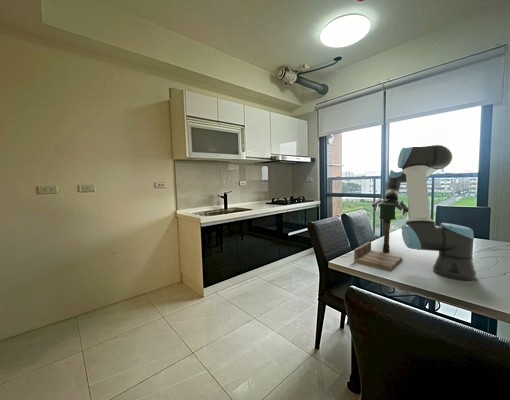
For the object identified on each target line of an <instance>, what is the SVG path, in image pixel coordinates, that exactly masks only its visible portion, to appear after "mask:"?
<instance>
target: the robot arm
mask: <svg viewBox="0 0 510 400" xmlns="http://www.w3.org/2000/svg"><path fill="white" fill-rule="evenodd" d="M452 160H453V154H452V152H451V150H450V149H449V148H448V147H446V146H444V145H441V144H426V145H425V144H424V145H410V146H409V145H407V146H403V147H402V149H401V150H400V153H399V155H398V160H397V167H394V168H392V169H390V172H389V174H388V180H387V181H388V182H387V186H386V192H385V196H384V199H383V198H382V197H379V198H378V199H377V200H376V201H374V202H373V203H372V205H371V206H372V208H374V209H373V210H374V211H375V215H377V213H378V211H379V208H380V205H381V203H393V204H396V206H395V208H396V209H398V210H399V211H400V217H399V219H403V216H404V215H405V213H408V219H407V220H406V221H405V224H403V225H402V227H401V236H402V240H403V242H404V243H403V244H405V246H406V247H407V248H408V249H410V250H417V251H432V252H433V251H434V252H438V256H437V258H436V260H435V262H434V263H433V266H432V267H433V268H432V269H433V272H434V273H436V274H438V275H439V276H443V277H446V278H449V279H453V280H460V281H461V280H462V281H474V280H475V279H477V272H476V270H475V267H474V264H473V261H472V260H473V247H474V240H475V237H474V235H475V234H474V230H473V229H472V228H471V227H467V226H463V225H460V224H454V223H449V222H441V223H440V225H439V226H438V225H436V222H435V221H434V220H433V219H432V218H431V210H430V201H429V190H428V180H429V176H431V175H432V174H435V172H437V171H438V170H443V169H445V168H446V167H448V166H449V164H451V162H452ZM405 183H406V195H407V205H406V204H405V203H404V200H399V193H400V188H401V184H405Z"/></svg>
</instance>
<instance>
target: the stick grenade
mask: <svg viewBox="0 0 510 400" xmlns="http://www.w3.org/2000/svg"><path fill="white" fill-rule="evenodd" d="M395 206H396V204H393V203H381V205H380V207H379V208H380V209H379V210H380V212H379V219H382V220H383V224H384V225H383V230H384V232H383V244H382V253H386V254H390V229H391V221H392V220H393V221H394V220H397V218H396V207H395Z"/></svg>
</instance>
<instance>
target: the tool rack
mask: <svg viewBox="0 0 510 400" xmlns="http://www.w3.org/2000/svg"><path fill="white" fill-rule="evenodd" d="M353 251H354V252H353V253H354V256H353V262H354V263H357V264H358V263H359V264H361V265H367V266H370V267H375V268H378V269H381V270H385V271H391V272H392V271H393V270H394V269H395V268H396V267H397V266H398V265H399V264H400V263H401V262H403V256H400V255H396V254H390V253H384V252H380V251H376V250H372V242H371V241H367V242H366V243H365V242H364V244H362V245H361V244H360V245H359V246H357V247H356V248H354V250H353Z"/></svg>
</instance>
